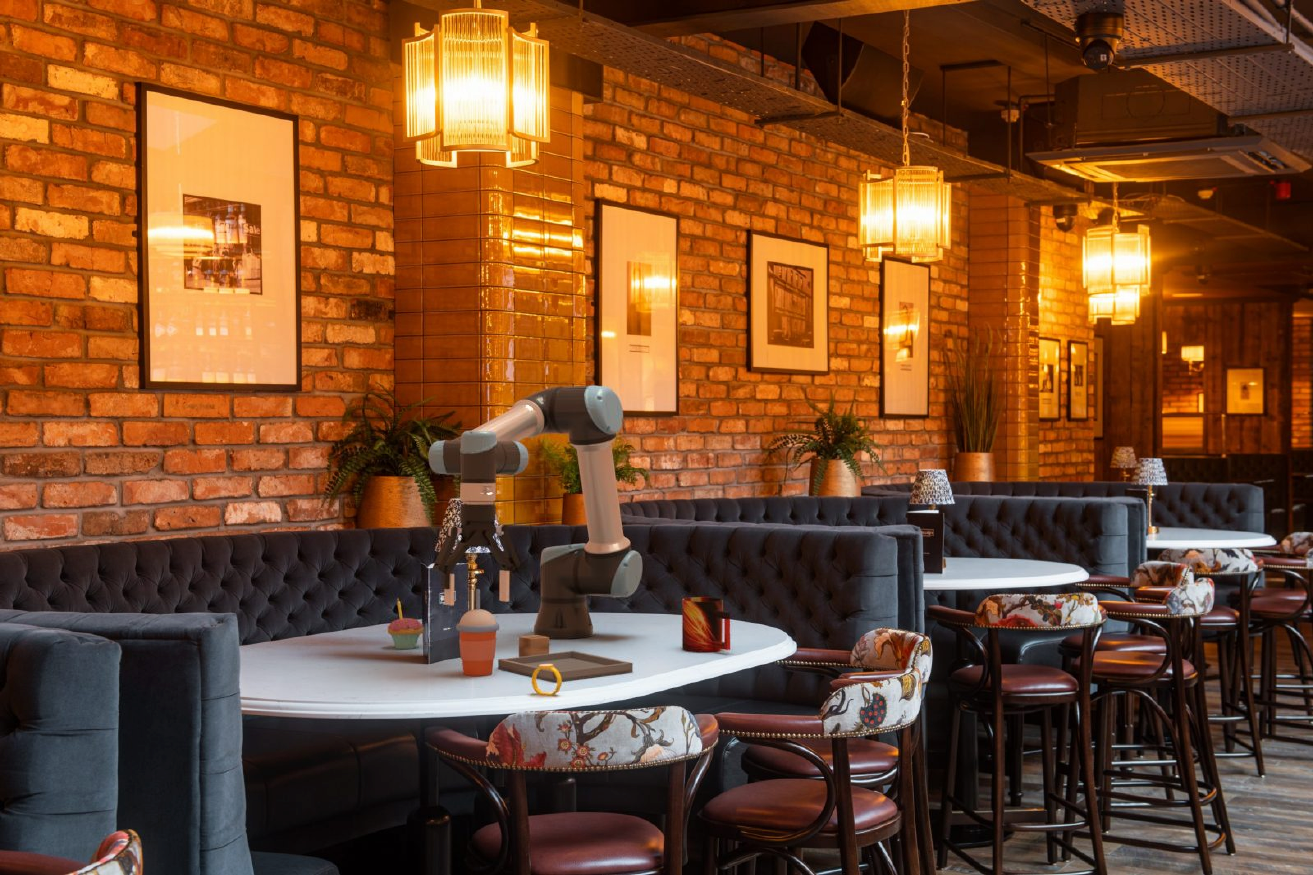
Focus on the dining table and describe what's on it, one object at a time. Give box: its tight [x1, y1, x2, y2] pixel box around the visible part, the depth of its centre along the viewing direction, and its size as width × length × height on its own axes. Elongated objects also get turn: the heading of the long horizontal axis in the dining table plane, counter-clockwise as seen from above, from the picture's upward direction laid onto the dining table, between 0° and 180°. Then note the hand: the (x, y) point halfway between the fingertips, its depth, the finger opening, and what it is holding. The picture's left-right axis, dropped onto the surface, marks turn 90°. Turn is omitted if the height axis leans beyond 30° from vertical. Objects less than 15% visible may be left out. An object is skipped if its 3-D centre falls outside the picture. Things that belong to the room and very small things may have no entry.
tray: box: [497, 650, 634, 683], centre depth 297 cm, size 22×20×2 cm
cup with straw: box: [455, 588, 500, 677], centre depth 293 cm, size 9×9×18 cm
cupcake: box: [387, 597, 424, 650], centre depth 330 cm, size 9×8×12 cm
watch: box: [531, 664, 562, 696], centre depth 269 cm, size 6×3×6 cm, turn 67°
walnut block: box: [518, 634, 550, 657], centre depth 314 cm, size 5×5×5 cm
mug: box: [681, 596, 731, 654], centre depth 327 cm, size 10×14×12 cm
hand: (477, 603), depth 293 cm, fingers open, 13 cm apart
